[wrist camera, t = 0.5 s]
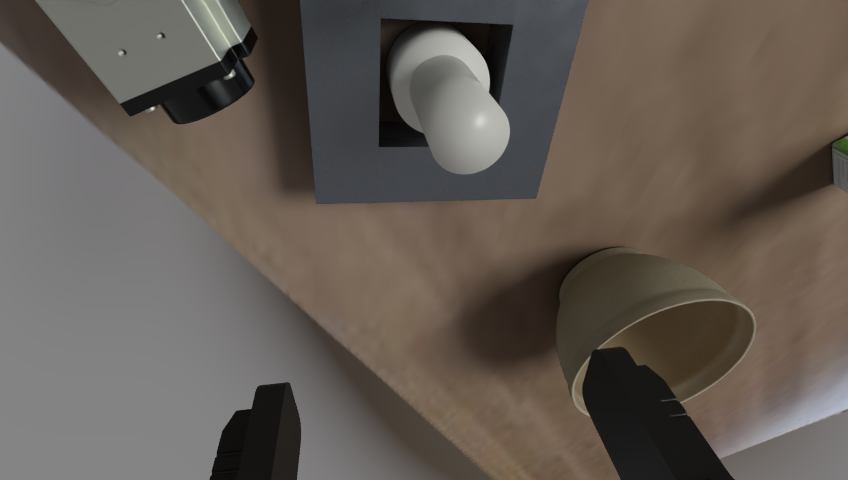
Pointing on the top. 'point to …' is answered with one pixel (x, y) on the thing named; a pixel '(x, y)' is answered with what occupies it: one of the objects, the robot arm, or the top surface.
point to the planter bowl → (650, 321)
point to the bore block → (403, 145)
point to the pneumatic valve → (162, 51)
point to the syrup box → (840, 163)
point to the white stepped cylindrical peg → (447, 96)
